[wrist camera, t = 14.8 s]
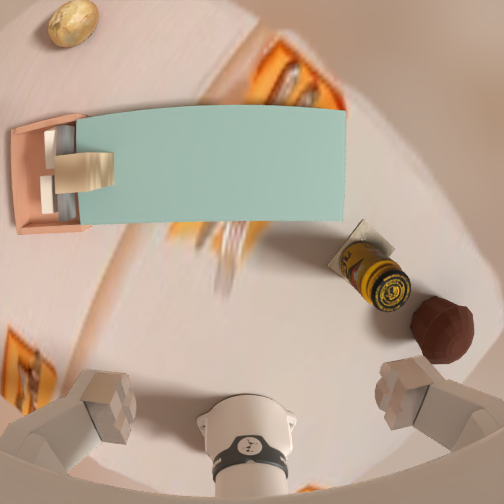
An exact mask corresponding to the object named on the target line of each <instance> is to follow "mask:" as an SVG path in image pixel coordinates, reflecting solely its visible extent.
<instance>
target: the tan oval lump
mask: <svg viewBox="0 0 504 504" xmlns="http://www.w3.org/2000/svg"><path fill="white" fill-rule="evenodd" d="M77 13H78V14H77ZM98 18H99V13H98V9H97V7H96V5H95V4H94V3H92V2H91V1H89V0H73V1H70V2H68V3H66V4H64V5H62V6H61V7H60V8H59V9H58V10H57V11H56V12H55V13H54V14H53V16H52V17H51V19H50V20H49V25H48V34H49V36H50V39H51V40H52V41H53V42H54V44H56V45H58V46H60V47H73V46H76V45H78V44H80V43H82V42H83V41H85V39H86V38H88V37H89V36H90V35H91V34H92V32H93V31H94V30H95V29H96V25H97V23H98Z"/></svg>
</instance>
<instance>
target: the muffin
mask: <svg viewBox="0 0 504 504" xmlns="http://www.w3.org/2000/svg"><path fill="white" fill-rule="evenodd" d="M410 329H411V330H412V332H413V335H414V338H415V339H416V341H417V343H418V345H419V347H420V348H421V350H422V353H423V356H425V357H426V359H427V360H428V361H429V362H430V363H431V364H450V363H452V362H454V361H456V360H458V359H460V358H461V357H462V356H463V355H464V354H465V353H466V352H467V350H468V349H469V347H470V345H471V343H472V340H473V336H474V323H473V314H472V313H471V311H470V310H469V309H468V308H467V307H465V306H459V305H457V304H454V303H452V302H450V301H448V300H446V299H441V298H439V297H437V296H435V297H433V298H431V299H429V300H427V301H424V302H423V303H422V304H421V306H420V307H419V308H418V309H417V311H416V312H415V313H414V314H413V319H412V323H411V326H410Z"/></svg>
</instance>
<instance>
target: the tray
mask: <svg viewBox="0 0 504 504" xmlns="http://www.w3.org/2000/svg"><path fill="white" fill-rule="evenodd" d="M83 118H88V116H87V115H82V114H78V113H75V114H70V115H65V116H61V117H56V118H52V119H48V120H43V121H39V122H36V123H32V124H28V125H24V126H21V127H17V128H14V129H11V176H12V192H13V204H14V214H15V222H16V230H17V235H24V234H44V233H66V232H82V231H84V230H86V229H88V228H90V227H91V226H92V225H81V223H80V213H79V200H78V192H77V193H75V209H76V217H75V218H73V219H71V220H68V221H66V222H59V215H58V212H56V213H50V214H42V205H41V186H40V176H46V175H52V174H55V171H54V169H46V160H45V136H44V131H47V130H49V129H51V128H53V127H56V126H60V125H69V126H74V154H76V123H77V119H83Z"/></svg>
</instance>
